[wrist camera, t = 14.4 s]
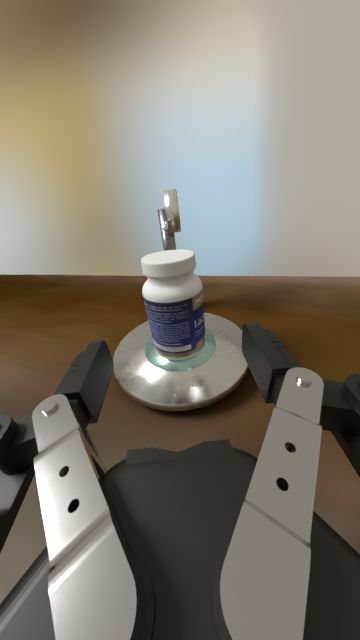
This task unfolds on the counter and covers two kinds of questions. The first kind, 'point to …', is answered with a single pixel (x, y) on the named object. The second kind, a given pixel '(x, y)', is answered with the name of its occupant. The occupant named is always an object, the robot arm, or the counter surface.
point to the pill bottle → (174, 304)
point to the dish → (181, 368)
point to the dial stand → (169, 219)
